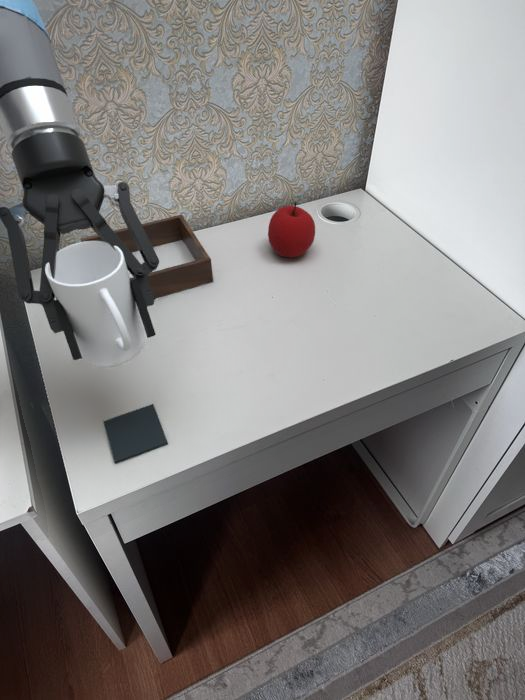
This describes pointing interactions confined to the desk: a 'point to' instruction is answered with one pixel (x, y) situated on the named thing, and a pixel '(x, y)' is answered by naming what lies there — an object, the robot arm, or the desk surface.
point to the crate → (176, 275)
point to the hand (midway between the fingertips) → (115, 347)
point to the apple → (291, 231)
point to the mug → (98, 302)
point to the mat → (134, 433)
